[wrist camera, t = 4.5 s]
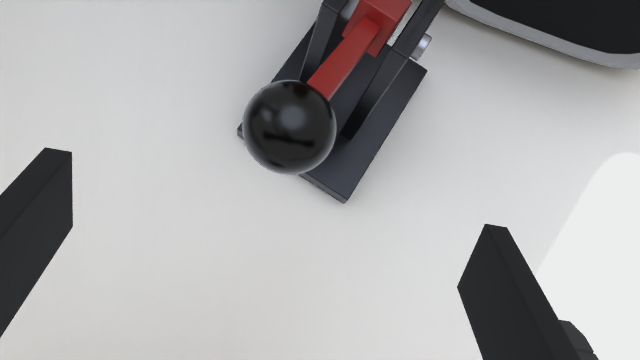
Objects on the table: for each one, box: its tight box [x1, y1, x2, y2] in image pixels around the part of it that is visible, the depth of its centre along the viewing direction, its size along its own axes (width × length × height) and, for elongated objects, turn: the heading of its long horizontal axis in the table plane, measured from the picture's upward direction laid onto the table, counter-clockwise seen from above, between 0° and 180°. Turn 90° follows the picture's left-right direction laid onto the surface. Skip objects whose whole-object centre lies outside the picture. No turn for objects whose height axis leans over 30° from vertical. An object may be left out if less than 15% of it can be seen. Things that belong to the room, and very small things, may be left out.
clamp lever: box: [242, 0, 412, 175], centre depth 24 cm, size 14×4×4 cm, turn 148°
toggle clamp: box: [237, 0, 446, 203], centre depth 33 cm, size 12×9×14 cm
